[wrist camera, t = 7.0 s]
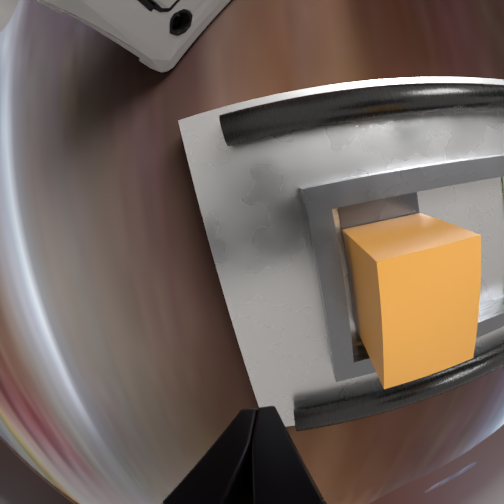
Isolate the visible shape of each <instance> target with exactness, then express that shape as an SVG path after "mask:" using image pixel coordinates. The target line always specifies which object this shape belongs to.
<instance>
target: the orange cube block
mask: <svg viewBox="0 0 504 504" xmlns="http://www.w3.org/2000/svg"><path fill="white" fill-rule="evenodd" d="M342 234H343V240H344V245H345V252H346V258H347V264H348V271H349V278H350V285H351V293H352V301H353V309H354V318H355V327H356V329H357V331H358V333H359V335H360V337H361V340H362V342H363V344H364V346H365V348H366V350H367V353H368V355H369V357H370V359H371V361H372V364H373V366H374V368H375V370H376V373H377V375H378V377H379V379H380V382H381V384H382V386H383V389H387V388H390V387H394V386H397V385H400V384H404V383H407V382H410V381H413V380H416V379H419V378H422V377H425V376H428V375H431V374H434V373H436V372H439V371H442V370H444V369H447V368H450V367H452V366H455V365H457V364H460V363H462V362H465V361H467V360H470V359H472V358H473V355H474V349H475V342H476V334H477V326H478V316H479V304H480V287H481V235H479V234H477V233H474V232H472V231H469V230H467V229H464V228H461V227H459V226H456V225H453V224H451V223H448V222H445V221H442V220H439V219H437V218H434V217H431V216H428V215H425V214H422V213H417V214H412V215H407V216H402V217H398V218H393V219H388V220H384V221H379V222H374V223H370V224H365V225H361V226H356V227H351V228H347V229H342Z"/></svg>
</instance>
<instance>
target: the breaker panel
mask: <svg viewBox="0 0 504 504" xmlns="http://www.w3.org/2000/svg"><path fill="white" fill-rule="evenodd" d="M178 122H179V126H180V131H181V135H182V139H183V143H184V147H185V151H186V156H187V160H188V164H189V168H190V172H191V176H192V180H193V184H194V188H195V191H196V195H197V199H198V203H199V207H200V211H201V214H202V218H203V222H204V226H205V229H206V233H207V237H208V240H209V244H210V248H211V251H212V255H213V259H214V262H215V266H216V269H217V273H218V276H219V280H220V283H221V287H222V290H223V294H224V297H225V300H226V304H227V307H228V311H229V314H230V317H231V321H232V324H233V327H234V331H235V334H236V337H237V340H238V344H239V347H240V350H241V353H242V356H243V360H244V363H245V366H246V369H247V372H248V375H249V378H250V382H251V385H252V388H253V391H254V394H255V397H256V400H257V403H258V406H259V408H260V407H266V406H275V407H276V409H277V411H278V413H279V415H280V417H281V419H282V421H283V423H284V425H285V427H287V426H294V425H295V427H296V431H303V430H308V429H314V428H320V427H325V426H330V425H335V424H339V423H344V422H348V421H352V420H357V419H361V418H365V417H369V416H372V415H376V414H380V413H383V412H387V411H390V410H394V409H397V408H400V407H403V406H406V405H409V404H413V403H416V402H418V401H421V400H424V399H427V398H430V397H433V396H435V395H438V394H441V393H443V392H446V391H448V390H451V389H453V388H456V387H458V386H461V385H463V384H465V383H468V382H470V381H472V380H474V379H477V378H479V377H481V376H483V375H485V374H487V373H489V372H492V371H494V370H496V369H498V368H500V367H502V366H504V80H501V79H490V78H474V77H406V78H389V79H376V80H365V81H356V82H347V83H340V84H332V85H325V86H319V87H313V88H307V89H301V90H295V91H290V92H285V93H280V94H275V95H270V96H266V97H261V98H257V99H253V100H249V101H244V102H240V103H237V104H233V105H229V106H225V107H221V108H218V109H214V110H211V111H207V112H204V113H201V114H197V115H194V116H191V117H188V118H184V119H181V120H178ZM417 213H422V214H425V215H428V216H431V217H434V218H437V219H439V220H442V221H445V222H448V223H451V224H453V225H456V226H459V227H461V228H464V229H467V230H469V231H472V232H474V233H477V234H479V235H481V287H480V304H479V316H478V326H477V334H476V342H475V349H474V355H473V358H472V359H470V360H467V361H465V362H462V363H460V364H457V365H455V366H452V367H450V368H447V369H444V370H442V371H439V372H436V373H434V374H431V375H428V376H425V377H422V378H419V379H416V380H413V381H410V382H407V383H404V384H400V385H397V386H394V387H390V388H387V389H383V386H382V384H381V382H380V379H379V377H378V375H377V373H376V370H375V368H374V366H373V364H372V361H371V359H370V357H369V355H368V353H367V350H366V348H365V346H364V344H363V342H362V340H361V337H360V335H359V333H358V331H357V329H356V327H355V318H354V309H353V301H352V293H351V285H350V278H349V271H348V264H347V258H346V252H345V245H344V240H343V234H342V229H347V228H351V227H356V226H361V225H365V224H370V223H374V222H379V221H384V220H388V219H393V218H398V217H402V216H407V215H412V214H417Z"/></svg>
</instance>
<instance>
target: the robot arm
mask: <svg viewBox="0 0 504 504" xmlns="http://www.w3.org/2000/svg"><path fill="white" fill-rule="evenodd" d="M163 504H327V503H326V502H325V501H324V499H323V497H322V495H321V493H320V491H319V489H318V487H317V486H316V484H315V482H314V480H313V478H312V476H311V475H310V473H309V471H308V469H307V467H306V465H305V463H304V462H303V460H302V458H301V456H300V454H299V452H298V450H297V448H296V446H295V444H294V443H293V441H292V439H291V437H290V435H289V433H288V431H287V429H286V427H285V425H284V423H283V421H282V419H281V417H280V415H279V413H278V411H277V409H276V407H275V406H266V407H260V408H259V409H257V408H249V409H243V410H241V411H240V412H239V413H238V414H237V416H236V417H235V418H234V420H233V421H232V422H231V423H230V425H229V426H228V427H227V428H226V430H225V431H224V432H223V433H222V434H221V436H220V437H219V438H218V439H217V441H216V442H215V443H214V444H213V445H212V447H211V448H210V449H209V450H208V451H207V453H206V454H205V455H204V456H203V457H202V458H201V460H200V461H199V462H198V463H197V464H196V465H195V467H194V468H193V469H192V470H191V471H190V472H189V473H188V475H187V476H186V477H185V478H184V479H183V480H182V481H181V482H180V483H179V485H178V486H177V487H176V488H175V489H174V490H173V491H172V492H171V493H170V494H169V495H168V497H167V498H166V499H165V500H164V501H163Z"/></svg>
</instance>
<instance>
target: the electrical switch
mask: <svg viewBox="0 0 504 504" xmlns="http://www.w3.org/2000/svg"><path fill="white" fill-rule="evenodd" d="M230 1H231V0H37V2H39V3H41V4H43V5H45V6H47V7H49V8H51V9H53V10H55V11H56V12H58V13H61V12H65V13H67V14H69V15H70V16H72V17H74V18H76V19H78V20H79V21H81V22H83V23H85V24H86V25H88V26H90V27H91V28H93V29H95V30H96V31H98V32H100V33H101V34H103V35H105V36H106V37H108V38H109V39H111V40H113V41H114V42H116V43H117V44H119V45H120V46H122V47H124V48H125V49H127V50H128V51H130V52H131V53H133V54H134V55H136V56H137V57H139V58H140V59H139V61H140V62H142V63H143V64H145V65H146V66H148V67H149V68H151V69H154V70H156V71H159V72H167V71H169V70H170V69H172V68H173V67H174V66H175V65H176V64H177V62H178V61H179V60H180V58H181V57H182V56H183V55H184V53H185V52H186V51H187V50H188V48H189V47H190V46H191V45H192V43H193V42H194V41H195V40H196V39H197V37H198V36H199V35H200V34H201V33H202V32H203V30H204V29H205V28H206V27H207V26H208V25H209V24H210V22H211V21H212V20H213V19H214V18H215V17H216V16H217V15H218V14H219V12H220V11H221V10H222V9H223V8H224V7H225V6H226V5H227V4H228V3H229V2H230Z"/></svg>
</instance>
